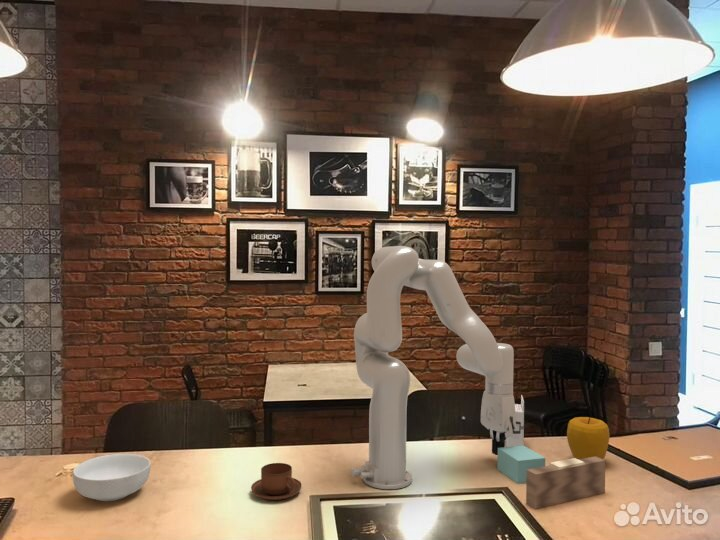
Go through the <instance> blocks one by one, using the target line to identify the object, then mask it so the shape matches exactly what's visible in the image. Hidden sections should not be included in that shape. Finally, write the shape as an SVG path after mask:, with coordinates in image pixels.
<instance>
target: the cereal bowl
mask: <svg viewBox="0 0 720 540" xmlns="http://www.w3.org/2000/svg"><path fill="white" fill-rule="evenodd" d="M151 465H152V464H151V460H150V459H149V458H148V457H146V456H144V455H140V454H135V453H114V454H106V455H101V456H96V457H94V458H93V457H92V458H90V459H87V460H85V461H83V462H81V463H79V464H77V465H76V466H75V467H74V469H73V471H72V482H73V485H74V488H75V490H76V491H77V492H78V493H79V494H80V495H81V496H83V497H86V498H89V499H93V500H96V501H98V502H99V501H100V502H114V501H118V500H122V499H124V498H126V497H127V496H129V495H131V494H133V493H136V491H138V490H140V489H141V488H143V486H144V485H145V484H146V483H147V482H148V479H149V478H150V473H151V467H152V466H151Z"/></svg>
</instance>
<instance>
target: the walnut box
mask: <svg viewBox="0 0 720 540" xmlns="http://www.w3.org/2000/svg"><path fill="white" fill-rule="evenodd" d="M525 484H526V489H525V493H526V494H525V504H526V505H527V506H529V507H531V508H533V509H535V510H537V509H538V510H539V509H541V508H542V509H543V508H546V507H551V506H555V505H558V504H563V503H568V502H571V501H576V500H579V499H580V500H581V499H584V498H588V497H593V496H596V495H601V494H604V493H606V459H601V458H598V457H596V456H595V457H590V458H585V459H579V460H578V459H576V458H574V457H573V458H568V459H562V460H556V461H552V462H549V465H545V466H544V467H539V468H534V469H529V470H527V480H526V483H525Z"/></svg>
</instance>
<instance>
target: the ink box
mask: <svg viewBox="0 0 720 540" xmlns="http://www.w3.org/2000/svg"><path fill="white" fill-rule="evenodd" d="M520 400H521V401H520V404H518V403H515V412H516V426H515V430H514V431H513V437H510V438H507V439H506V440H505V447H513V446H523V445H524V434H525V433H524V429H525V400H524V397H523V395H522V394H521V397H520Z"/></svg>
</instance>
